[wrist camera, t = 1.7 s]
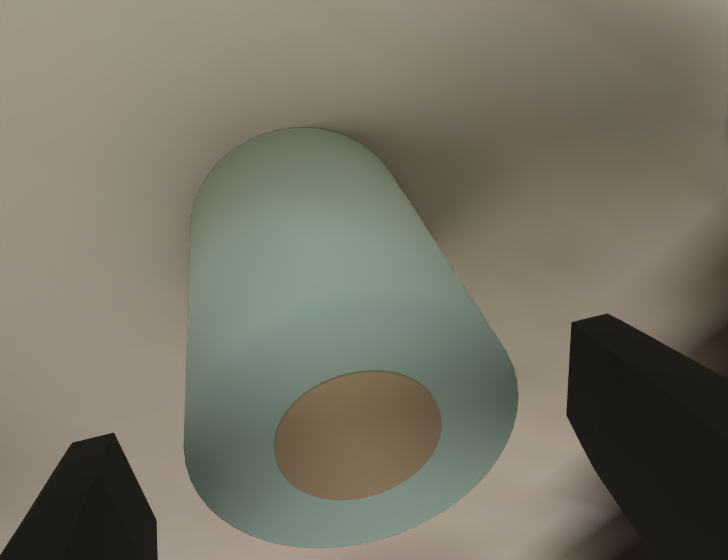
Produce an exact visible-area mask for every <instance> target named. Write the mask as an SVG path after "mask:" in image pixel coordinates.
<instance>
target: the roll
mask: <svg viewBox="0 0 728 560" xmlns="http://www.w3.org/2000/svg"><path fill="white" fill-rule="evenodd" d="M517 405H518V388H517V379H516V376H515V372H514V368H513V365H512V363H511V361H510V359H509V357H508V354H507V352H506V350H505V349H504V347H503V346H502V344H501V343H500V341H499V340H498V338H497V336H496V335H495V333H494V332H493V330H492V329H491V327H490V326H489V324H488V322H487V321H486V319H485V318H484V316H483V315H482V313H481V312H480V310H479V309H478V307H477V305H476V304H475V302H474V301H473V299H472V298H471V296H470V295H469V293H468V292H467V290H466V288H465V287H464V285H463V284H462V282H461V281H460V279H459V278H458V276H457V274H456V273H455V271H454V270H453V268H452V267H451V265H450V264H449V262H448V261H447V259H446V257H445V256H444V254H443V253H442V251H441V250H440V248H439V247H438V245H437V244H436V242H435V240H434V239H433V237H432V236H431V234H430V233H429V231H428V230H427V228H426V226H425V225H424V223H423V222H422V220H421V219H420V217H419V216H418V214H417V213H416V211H415V209H414V208H413V206H412V205H411V203H410V202H409V200H408V199H407V197H406V196H405V194H404V192H403V191H402V189H401V188H400V186H399V185H398V183H397V182H396V180H395V178H394V177H393V175H392V174H391V172H390V171H389V170H388V168H387V167H386V165H385V164H384V163H383V162H382V161H381V160H380V159H379V158H378V157H377V156H376V155H375V154H374V153H373V152H372V151H371V150H369V149H368V148H367V147H365V146H364V145H362V144H361V143H359V142H357V141H356V140H354V139H352V138H350V137H347V136H345V135H342V134H340V133H337V132H333V131H329V130H325V129H317V128H288V129H281V130H276V131H273V132H269V133H265V134H263V135H260V136H258V137H255V138H253V139H250V140H249V141H247V142H245V143H243V144H242V145H240V146H238V147H237V148H235V149H234V150H233V151H231V152H230V153H229V154H227V155H226V156H225V157H224V158H223V159H222V160H221V161H220V162H219V163H218V164H217V165H216V166H215V167H214V168H213V169H212V171H211V172H210V173H209V175H208V176H207V177H206V179H205V181H204V183H203V184H202V186H201V188H200V190H199V192H198V195H197V197H196V200H195V203H194V207H193V211H192V216H191V229H190V260H189V293H188V325H187V357H186V389H185V421H184V455H185V463H186V467H187V470H188V474H189V477H190V480H191V482H192V484H193V486H194V487H195V489H196V491H197V493H198V495H199V496H200V497H201V499H202V500H203V501H204V502H205V504H206V505H207V506H208V507H209V508H210V509H211V510H212V511H213V512H214V513H215V514H216V515H217V516H218V517H220V518H221V519H222V520H224V521H225V522H227V523H228V524H230V525H231V526H233V527H234V528H236V529H238V530H240V531H242V532H244V533H246V534H248V535H250V536H253V537H256V538H259V539H262V540H265V541H268V542H272V543H277V544H281V545H286V546H294V547H302V548H332V547H344V546H351V545H358V544H363V543H367V542H372V541H376V540H380V539H383V538H386V537H389V536H393V535H396V534H399V533H401V532H403V531H406V530H408V529H411V528H413V527H416V526H417V525H419V524H421V523H423V522H425V521H427V520H429V519H431V518H433V517H435V516H436V515H438V514H439V513H441V512H443V511H444V510H446V509H448V508H449V507H450V506H452V505H453V504H454V503H456V502H457V501H458V500H460V499H461V498H462V497H464V496H465V495H466V494H467V493H468V492H469V491H470V490H471V489H472V488H474V487H475V486H476V485H477V484H478V483H479V482H480V480H481V479H482V478H483V477H484V476H485V475H486V474H487V473H488V472H489V470H490V469H491V468H492V466H493V465H494V463H495V462H496V461H497V459H498V458H499V456H500V454H501V453H502V451H503V449H504V447H505V445H506V444H507V442H508V439H509V437H510V434H511V432H512V429H513V426H514V422H515V418H516V414H517Z"/></svg>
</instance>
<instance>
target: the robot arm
mask: <svg viewBox="0 0 728 560" xmlns="http://www.w3.org/2000/svg"><path fill="white" fill-rule="evenodd" d="M566 415H567V417H568V419H569V421H570V423H571V425H572V427H573V429H574V431H575V433H576V435H577V437H578V439H579V441H580V443H581V445H582V447H583V449H584V451H585V453H586V455H587V456H588V458H589V460H590V462H591V464H592V466H593V468H594V470H595V471H596V473H597V474H598V476H599V477H600V479H601V480H602V482H603V483H604V485H605V486H606V488H607V489H608V491H609V492H610V494H611V495H612V497H613V498H614V499H615V501H616V502H617V504H618V505H619V507H620V508H621V510H622V511H623V513H624V514H625V516H626V517H627V519H628V520H629V521H630V523H631V524H632V526H633V527H634V529H635V530H636V532H637V533H638V535H639V536H640V537H641V539H642V540H643V542H644V543H645V545H646V546H647V548H648V549H649V550H650V552H651V553H652V555H653V556H654V558H655V559H656V560H728V379H727V378H725V377H723V376H721V375H719V374H718V373H716V372H714V371H712V370H710V369H708V368H706V367H705V366H703V365H701V364H699V363H697V362H695V361H694V360H692V359H690V358H688V357H686V356H684V355H683V354H681V353H679V352H677V351H675V350H674V349H672V348H670V347H668V346H666V345H665V344H663V343H661V342H659V341H657V340H656V339H654V338H652V337H650V336H648V335H647V334H645V333H643V332H641V331H639V330H638V329H636V328H634V327H632V326H630V325H628V324H627V323H625V322H623V321H621V320H619V319H617V318H615V317H613V316H611V315H609V314H604V315H600V316H595V317H591V318H587V319H583V320H579V321H575V322H572V323H571V341H570V359H569V377H568V395H567V413H566ZM0 560H158V555H157V522H156V518H155V516H154V514H153V512H152V510H151V508H150V506H149V504H148V502H147V500H146V498H145V496H144V493H143V491H142V489H141V487H140V485H139V483H138V481H137V479H136V477H135V475H134V473H133V471H132V469H131V467H130V465H129V463H128V461H127V458H126V456H125V454H124V452H123V450H122V448H121V446H120V444H119V442H118V440H117V438H116V436H115V434H114V433H111V434H106V435H102V436H98V437H94V438H90V439H86V440H82V441H77V442H73V443H72V444H71V445H70V447H69V448H68V450H67V451H66V453H65V454H64V456H63V457H62V459H61V461H60V462H59V464H58V465H57V467H56V468H55V470H54V471H53V473H52V475H51V476H50V478H49V479H48V481H47V483H46V484H45V486H44V487H43V489H42V491H41V492H40V494H39V495H38V497H37V499H36V500H35V502H34V503H33V505H32V507H31V508H30V510H29V511H28V513H27V514H26V516H25V518H24V519H23V521H22V522H21V524H20V526H19V527H18V529H17V530H16V532H15V533H14V535H13V536H12V538H11V539H10V541H9V542H8V544H7V545H6V547H5V549H4V550H3V552H2V553H1V555H0Z"/></svg>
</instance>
